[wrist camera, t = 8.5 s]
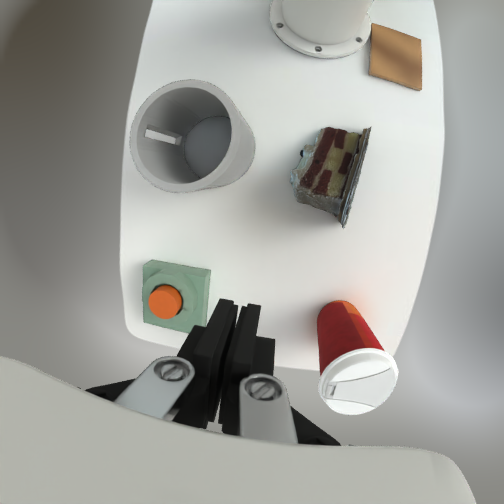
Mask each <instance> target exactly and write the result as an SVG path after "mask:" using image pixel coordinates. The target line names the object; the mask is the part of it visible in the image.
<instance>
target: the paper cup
mask: <svg viewBox="0 0 504 504" xmlns="http://www.w3.org/2000/svg"><path fill="white" fill-rule="evenodd" d="M317 333H318V346H319V364H320V380H319V384H318V389H319V394H320V396H321V398H322V400H323V401H325V403H327V405H328V406H329V407H330V408H331V409H332V410H334V411H336V412H338V413H341V414H346V415H356V414H362V413H365V412H368V411H371V410H373V409H375V408H376V407H378V406H379V405H380V404H382V403H383V402H384V401H385V400H386V399H387V398H388V397H389V396H390V394H391V393H392V391H393V389H394V387H395V385H396V382H397V377H398V369H397V366H396V363H395V361H394V359H393V357H392V356H391V355H390V354H388V353H387V352H385V351H384V349H383V348H382V346H381V345H380V343H379V341H378V340H377V338H376V337H375V335H374V334H373V332H372V331H371V329H370V328H369V326H368V325H367V323H366V322H365V320H364V319H363V317H362V316H361V314H360V313H359V312H358V310H357V309H356V308H355V307H354V306H353V305H352V304H351V303H349V302H346V301H334V302H331V303H329V304H327V305H326V306H325V307H323V308H322V310H321V311H320V313H319V315H318V318H317Z"/></svg>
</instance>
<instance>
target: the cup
mask: <svg viewBox="0 0 504 504" xmlns="http://www.w3.org/2000/svg"><path fill="white" fill-rule="evenodd" d="M212 116H224V117H228V118H230V120H231V125H232V126H231V127H232V128H231V129H232V134H231V135H232V136H231V141H230V142H231V143H230V145H229V148H228V151H227V154H226V155H225V158H224V159H223V160H222V162H221V164H220V165H219V166H218V167H217V168H216V169H215V170H214V171H213V172H212V173H211V174H209V175H207V176H206V177H205V178H201V177H199V176H198V175H196V174H195V173H194V172H193V171H192V170H191V169H190V167H189V166H188V165H187V162H186V160H185V155H184V144H185V140H186V137H187V135H188V133H189V132H190V130H191V129H192V128H193V126H195V124H197V123H198V122H199V121H201V120H203V119H205V118H208V117H212ZM146 129H149V130H152V131H155V132H159V133H162V134H165V135H168V136H171V137H174V138H176V140H175V144H171V143H167V142H163V141H159V140H155V139H151V138H147V137H145V133H146ZM130 150H131V151H130V152H131V155H132V159H133V161H134V164H135V166H136V167H137V169H138V171H139V172H140V174H141V175H142V177H144V178H145V179H146V180H147V181H148V182H149V183H151V184H152V185H154V186H155V187H157V188H160V189H162V190H164V191H168V192H172V193H173V192H174V193H187V192H193V191H198V190H203V189H209V188H214V187H220V186H225V185H228V184H231V183H233V182H234V181H236V180H238V179H239V178H240V177H242V176H243V175H244V174H245V172H246V171H247V170H248V169H249V167H250V166H251V164H252V161H253V159H254V154H255V140H254V136H253V132H252V131H251V128H250V127H249V125H248V124H247V122H246V121H245V119H244V118H243V116H242V115H241V113H240V112H239V110H238V109H237V107H236V106H235V104H234V103H233V102H232V100H231V99H230V98H229V97H228V96H227V94H226V93H224V92H223V91H222V90H221V89H220V88H218V87H216V86H215V85H212V84H211V83H208V82H204V81H201V80H191V79H189V80H180V81H177V82H176V81H175V82H173V83H170V84H167V85H165V86H163V87H162V88H160V89H158V90H157V91H156V92H154V93H152V94H151V95H150V97H149V98H147V99H146V101H145V102H144V103H143V104H142V105H141V107H140V108H139V110H138V112H137V113H136V115H135V118H134V120H133V123H132V127H131V131H130Z"/></svg>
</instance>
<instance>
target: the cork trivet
mask: <svg viewBox="0 0 504 504" xmlns="http://www.w3.org/2000/svg"><path fill="white" fill-rule="evenodd" d="M369 75H371V76H375V77H378V78H382V79H385V80H388V81H391V82H395V83H398V84H401V85H404V86H407V87H409V88H412V89H415V90H418V91H420V90H422V52H421V40H420V39H418V38H415V37H413V36H410V35H407V34H405V33H402V32H399V31H396V30H393V29H390V28H387V27H384V26H381V25H377V24H374V23H372V24H371V36H370V65H369Z"/></svg>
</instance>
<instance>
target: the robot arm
mask: <svg viewBox="0 0 504 504" xmlns="http://www.w3.org/2000/svg"><path fill="white" fill-rule="evenodd" d="M373 1H374V0H273V1H272V3H271V6H270V22H271V25H272V28H273V30H274V31H275V33H276V34H277V36H278V37H279V38H280V39H281V40H282V41H283V42H284V43H286V44H287V45H288V46H290V47H291V48H293V49H295V50H297V51H299V52H301V53H304V54H306V55H309V56H314V57H318V58H329V59H330V58H341V57H345V56H348V55H351V54H353V53H355V52H356V51H358V50H359V49H361V48H362V46H363V45H364V44H365V43H366V41H367V39H368V38H369V35H370V32H371V21H370V17H369V15H368V13H367V12H368V10H369V9H370V7H371V5H372V3H373ZM279 27H281V28H279ZM357 41H358V42H357ZM317 50H318V51H319V52H316V51H317ZM260 310H261V305H255V304H249V303H248V305H247V307H246V306H242V308H241V311H240V314H239V318H238V321H237V324H236V319H237V311H238V305H234V301H232V300H226V299H220V300H219V302H218V304H217V306H216V308H215V310H214V312H213V314H212V316H211V318H210V320H209V322H208V324H207V326H206V327H204V326H199V325H194V326H193V328H192V330H191V331H190V333H189V335H188V337H187V338H186V340H185V342H184V344H183V345H182V347H181V349H180V351H179V353H178V354H177V356H166V357H161V358H158V359H156V360H155V361H153V362H152V363H151V364H150V365H149V366H148V367H147V368H146V369H145V370H144V371H143V372H142V373H141V374H140V375H139V376H138V377H137V378H136V379H131V380H127V381H122V382H118V383H113V384H108V385H103V386H98V387H93V388H90V389H86V390H85V391H84V390H82V389H81V388H79V387H75V386H72V385H70V384H68V383H66V382H64V381H62V380H60V379H58V378H55V377H53V376H51V375H49V374H47V373H45V372H43V371H41V370H39V369H37V368H34V367H33V366H30V365H28V364H25V363H23V362H20V361H17V360H14V359H11V358H6V357H1V356H0V504H476V501H475V499H474V496H473V494H472V492H471V489H470V487H469V485H468V483H467V481H466V479H465V478H464V476H463V474H462V472H461V471H460V469H459V468H458V467H457V466H456V464H455V463H454V462H453V461H452V460H451V459H449V458H448V457H446V456H444V455H442V454H439V453H436V452H433V451H429V450H424V449H419V448H410V447H393V446H354V445H349V446H341V445H340V443H339V442H338V441H336V440H335V439H334V438H333V437H331V436H330V435H328V434H327V433H326V432H324V431H323V430H322V429H320V428H319V427H317V426H316V425H315V424H313V423H312V422H311V421H310V420H308V419H307V418H305V417H304V416H303V415H302V414H300V413H299V412H298V411H296V410H295V409H294V408H292V407H291V406H290V402H289V398H288V393H287V389H286V387H285V385H284V384H283V382H281V381H280V380H279V379H277V378H276V377H274V376H273V370H274V354H275V339H271V338H265V337H259V336H256V334H257V328H258V322H259V316H260ZM235 326H236V327H235ZM220 399H221V402H220ZM219 402H220V411H219V420H218V423H219V424H222V432H223V433H224V434H223V433H218V432H213V431H208V430H204V429H206V428H207V424H208V421H209V422H214V420H215V416H216V413H217V409H218V406H219ZM200 428H203V429H200Z"/></svg>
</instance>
